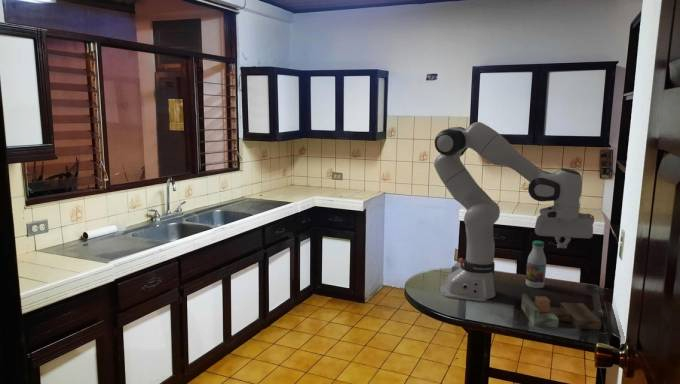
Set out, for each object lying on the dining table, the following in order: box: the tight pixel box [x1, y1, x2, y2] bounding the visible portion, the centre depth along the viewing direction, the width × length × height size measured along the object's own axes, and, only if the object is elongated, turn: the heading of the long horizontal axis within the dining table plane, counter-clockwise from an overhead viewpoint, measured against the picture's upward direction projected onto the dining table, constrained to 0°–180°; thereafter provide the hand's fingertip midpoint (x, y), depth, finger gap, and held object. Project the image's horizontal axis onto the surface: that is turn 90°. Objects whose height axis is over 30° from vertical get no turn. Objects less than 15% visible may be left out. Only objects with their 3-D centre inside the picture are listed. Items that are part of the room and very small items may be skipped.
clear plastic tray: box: [520, 293, 602, 330], centre depth 179 cm, size 23×16×6 cm
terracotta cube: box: [534, 295, 551, 312], centre depth 179 cm, size 4×4×4 cm
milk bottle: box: [525, 240, 547, 289], centre depth 211 cm, size 8×8×20 cm
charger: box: [450, 261, 461, 274], centre depth 229 cm, size 5×9×15 cm
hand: (561, 247), depth 183 cm, fingers closed
